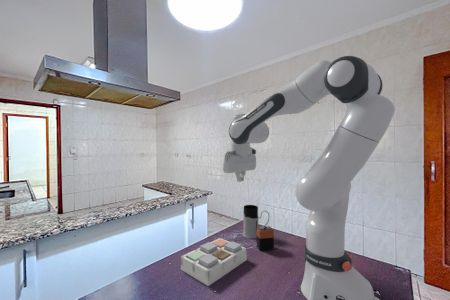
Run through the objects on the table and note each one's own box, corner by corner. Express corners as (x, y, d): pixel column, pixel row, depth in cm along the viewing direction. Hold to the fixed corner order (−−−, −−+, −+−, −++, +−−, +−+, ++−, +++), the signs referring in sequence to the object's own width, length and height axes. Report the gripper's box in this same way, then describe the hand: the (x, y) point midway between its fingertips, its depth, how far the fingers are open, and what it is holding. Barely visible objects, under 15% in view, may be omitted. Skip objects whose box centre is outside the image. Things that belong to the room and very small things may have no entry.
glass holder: (245, 230, 120) (245, 203, 120) (271, 234, 114) (271, 206, 114) (240, 236, 112) (240, 208, 112) (267, 241, 106) (267, 211, 106)
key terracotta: (228, 249, 93) (228, 242, 93) (220, 253, 90) (220, 246, 90) (220, 245, 97) (219, 239, 97) (212, 249, 93) (212, 242, 93)
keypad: (246, 260, 89) (246, 244, 89) (208, 286, 72) (208, 267, 72) (219, 248, 99) (219, 234, 99) (180, 269, 82) (180, 252, 82)
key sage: (204, 262, 83) (204, 254, 83) (194, 267, 79) (194, 259, 79) (196, 257, 86) (196, 250, 86) (186, 263, 82) (186, 255, 82)
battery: (256, 246, 101) (256, 225, 100) (270, 245, 102) (270, 224, 102) (259, 251, 96) (259, 229, 96) (274, 249, 98) (274, 228, 97)
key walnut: (230, 261, 84) (230, 253, 83) (221, 266, 80) (221, 258, 80) (220, 256, 87) (220, 249, 87) (212, 262, 83) (212, 254, 83)
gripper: (231, 151, 88) (231, 185, 88) (258, 150, 103) (258, 179, 103) (219, 151, 92) (219, 183, 92) (247, 150, 107) (247, 178, 107)
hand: (240, 181), depth 98 cm, fingers closed
